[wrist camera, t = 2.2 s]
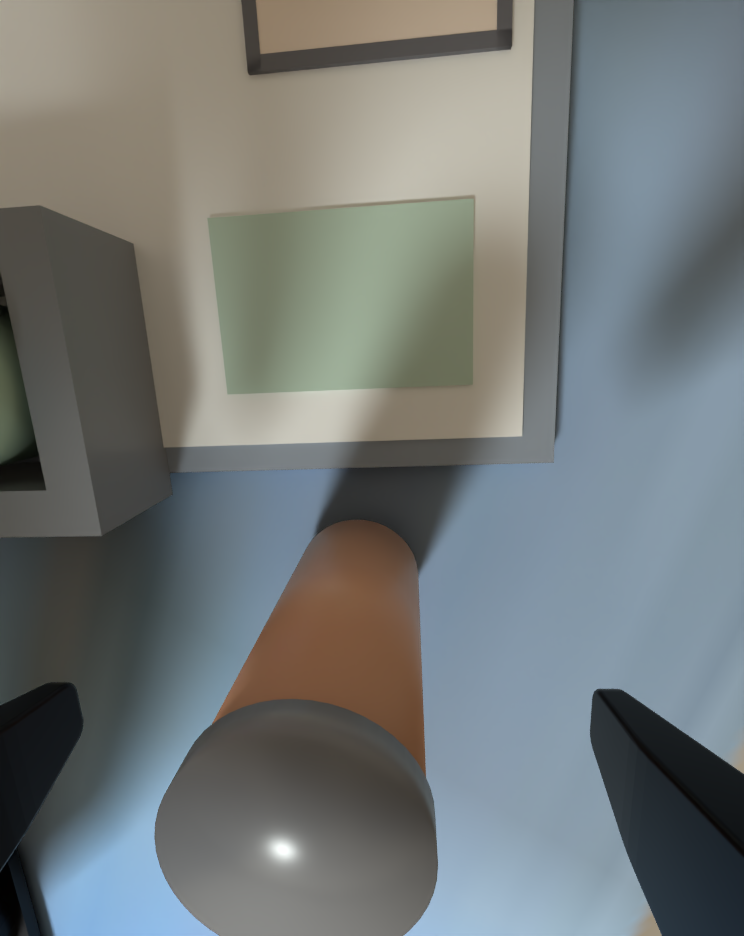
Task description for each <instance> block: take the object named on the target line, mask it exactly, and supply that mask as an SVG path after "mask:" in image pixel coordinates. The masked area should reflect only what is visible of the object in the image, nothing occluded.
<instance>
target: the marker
mask: <svg viewBox="0 0 744 936" xmlns="http://www.w3.org/2000/svg"><path fill="white" fill-rule="evenodd" d="M155 845H156V853H157V857H158V860H159V864H160V867H161V869H162V872H163V874H164V876H165V879H166V881H167V882H168V884H169V886H170V887H171V889H172V891H173V892H174V894H175V895H176V897H177V898H178V899H179V900H180V902H181V903H182V904H183V906H184V907H185V908H186V909H187V910H188V911H189V912H190V913H191V914H192V915H193V916H194V917H195V918H196V919H198V920H199V921H200V922H201V923H202V924H204V925H205V926H206V927H207V928H209V929H210V930H212V931H213V932H215V933H216V934H218V935H219V936H403V935H404V934H406V933H407V932H408V931H409V930H410V929H411V928H412V927H413V926H414V925H415V924H416V923H417V922H418V921H419V919H420V918H421V916H422V915H423V913H424V912H425V910H426V909H427V907H428V905H429V903H430V900H431V898H432V896H433V893H434V889H435V885H436V881H437V870H438V858H437V840H436V822H435V809H434V800H433V797H432V793H431V789H430V786H429V784H428V781H427V779H426V768H425V742H424V715H423V689H422V662H421V636H420V610H419V583H418V568H417V564H416V560H415V558H414V555H413V553H412V551H411V549H410V548H409V546H408V545H407V543H406V542H405V541H404V540H403V539H402V538H401V537H400V536H399V535H398V534H397V533H395V532H394V531H393V530H391V529H389V528H388V527H386V526H384V525H381V524H379V523H376V522H372V521H367V520H346V521H341V522H338V523H335V524H333V525H331V526H329V527H327V528H325V529H324V530H322V531H321V532H320V533H318V534H317V535H316V536H315V537H314V538H313V540H312V541H311V542H310V543H309V545H308V547H307V548H306V550H305V552H304V554H303V556H302V558H301V559H300V561H299V563H298V565H297V567H296V569H295V571H294V572H293V574H292V576H291V578H290V580H289V582H288V584H287V585H286V587H285V589H284V591H283V593H282V595H281V597H280V599H279V600H278V602H277V604H276V606H275V608H274V610H273V612H272V613H271V615H270V617H269V619H268V621H267V623H266V625H265V626H264V628H263V630H262V632H261V634H260V636H259V638H258V639H257V641H256V643H255V645H254V647H253V649H252V651H251V652H250V654H249V656H248V658H247V660H246V662H245V664H244V665H243V667H242V669H241V671H240V673H239V675H238V677H237V679H236V680H235V682H234V684H233V686H232V688H231V690H230V692H229V693H228V695H227V697H226V699H225V701H224V703H223V705H222V706H221V708H220V710H219V712H218V714H217V716H216V718H215V719H214V721H213V723H212V725H211V726H209V727H208V728H207V729H206V730H205V731H204V732H203V733H202V734H201V735H200V736H199V737H198V739H197V740H196V741H195V742H194V744H193V745H192V747H191V749H190V750H189V752H188V753H187V755H186V757H185V759H184V761H183V762H182V764H181V766H180V768H179V769H178V771H177V773H176V775H175V777H174V778H173V780H172V782H171V784H170V786H169V787H168V789H167V791H166V793H165V794H164V797H163V799H162V801H161V804H160V806H159V809H158V813H157V818H156V822H155Z"/></svg>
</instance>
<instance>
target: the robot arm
mask: <svg viewBox="0 0 744 936" xmlns="http://www.w3.org/2000/svg"><path fill="white" fill-rule="evenodd" d="M82 729H83V717H82V712H81V707H80V703H79V698H78V693H77V689H76V687H75V686H74V685H73V684H72V683H67V682H51V683H47V684H44V685H42V686H40V687H38V688H36V689H34V690H32V691H30V692H28V693H26V694H24V695H21V696H19V697H17V698H15V699H13V700H11V701H9V702H7V703H5V704H3V705H1V706H0V936H41V935H40V931H39V928H38V924H37V920H36V917H35V913H34V909H33V906H32V902H31V899H30V895H29V891H28V888H27V884H26V880H25V877H24V873H23V870H22V866H21V862H20V859H19V855H18V852H17V850H16V847H17V846H18V844H19V843H20V841H21V839H22V838H23V836H24V835H25V833H26V832H27V830H28V828H29V827H30V825H31V823H32V822H33V820H34V818H35V816H36V815H37V813H38V811H39V809H40V808H41V806H42V804H43V802H44V800H45V799H46V797H47V795H48V793H49V792H50V790H51V788H52V786H53V784H54V783H55V781H56V779H57V777H58V775H59V774H60V772H61V770H62V768H63V767H64V765H65V763H66V761H67V759H68V758H69V756H70V754H71V752H72V750H73V749H74V747H75V745H76V743H77V741H78V740H79V738H80V736H81V733H82ZM590 738H591V744H592V748H593V751H594V754H595V757H596V760H597V763H598V766H599V769H600V773H601V776H602V779H603V782H604V785H605V788H606V791H607V794H608V797H609V800H610V803H611V806H612V810H613V813H614V816H615V819H616V822H617V825H618V828H619V831H620V834H621V837H622V840H623V843H624V846H625V849H626V852H627V854H628V857H629V859H630V862H631V864H632V867H633V869H634V872H635V874H636V876H637V879H638V881H639V883H640V886H641V888H642V890H643V893H644V895H645V897H646V899H647V902H648V904H649V906H650V909H651V911H652V913H653V916H654V918H655V920H656V923H657V925H658V927H659V930H660V932H661V934H662V936H744V774H743V773H741V772H740V771H739V770H737V769H736V768H734V767H733V766H731V765H730V764H728V763H727V762H726V761H724V760H723V759H721V758H720V757H718V756H717V755H715V754H714V753H713V752H711V751H710V750H708V749H707V748H705V747H704V746H703V745H701V744H700V743H698V742H697V741H695V740H694V739H692V738H691V737H690V736H688V735H687V734H685V733H684V732H682V731H681V730H679V729H678V728H677V727H675V726H674V725H672V724H671V723H669V722H668V721H666V720H665V719H664V718H662V717H661V716H659V715H658V714H656V713H655V712H653V711H652V710H651V709H649V708H648V707H646V706H645V705H643V704H642V703H640V702H639V701H638V700H636V699H635V698H633V697H632V696H630V695H629V694H628V693H626V692H624V691H623V690H620V689H597V690H596V691H594V694H593V698H592V711H591V725H590Z"/></svg>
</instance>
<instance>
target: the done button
mask: <svg viewBox="0 0 744 936" xmlns="http://www.w3.org/2000/svg"><path fill="white" fill-rule="evenodd" d="M37 456H39V453H38V448H37V443H36V438H35V434H34V429H33V424H32V419H31V415H30V410H29V405H28V400H27V396H26V391H25V386H24V382H23V377H22V372H21V367H20V363H19V358H18V353H17V348H16V344H15V339H14V334H13V329H12V325H11V320H10V315H9V310H8V307H7V306H4V305H0V466H4V465H8V464H11V463H15V462H19V461H23V460H26V459H30V458H34V457H37Z"/></svg>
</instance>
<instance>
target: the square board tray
mask: <svg viewBox="0 0 744 936" xmlns="http://www.w3.org/2000/svg"><path fill="white" fill-rule="evenodd" d="M573 9H574V0H0V305H4V306H7V307H8V310H9V315H10V320H11V325H12V329H13V334H14V339H15V344H16V348H17V353H18V358H19V363H20V367H21V372H22V377H23V382H24V386H25V391H26V396H27V400H28V405H29V410H30V415H31V419H32V424H33V429H34V434H35V438H36V443H37V448H38V453H39V456H37V457H34V458H30V459H26V460H23V461H19V462H15V463H11V464H8V465H4V466H0V538H5V537H72V536H103V535H104V534H106V533H108V532H110V531H111V530H113V529H115V528H116V527H118V526H120V525H122V524H123V523H125V522H127V521H128V520H130V519H132V518H133V517H135V516H137V515H139V514H140V513H142V512H144V511H145V510H147V509H149V508H151V507H152V506H154V505H156V504H157V503H159V502H161V501H162V500H164V499H166V498H168V497H169V496H171V495H173V493H172V486H171V480H170V473H181V472H218V471H256V470H294V469H331V468H369V467H407V466H444V465H482V464H519V463H554V440H555V418H556V395H557V372H558V349H559V327H560V304H561V281H562V259H563V236H564V213H565V190H566V168H567V145H568V122H569V100H570V77H571V54H572V32H573Z"/></svg>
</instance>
